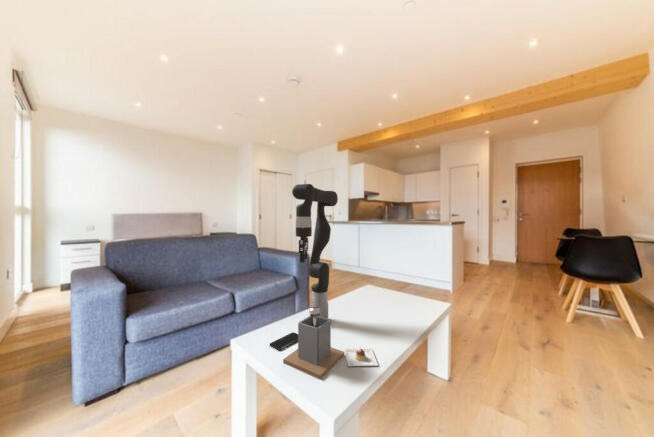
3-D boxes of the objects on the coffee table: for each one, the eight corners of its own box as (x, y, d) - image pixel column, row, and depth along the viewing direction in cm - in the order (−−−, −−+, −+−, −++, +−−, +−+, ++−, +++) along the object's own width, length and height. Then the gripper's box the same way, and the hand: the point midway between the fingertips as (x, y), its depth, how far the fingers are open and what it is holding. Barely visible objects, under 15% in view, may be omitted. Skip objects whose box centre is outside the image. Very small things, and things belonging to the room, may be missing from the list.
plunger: (312, 342, 103) (312, 303, 103) (327, 347, 99) (327, 307, 99) (301, 350, 96) (301, 309, 97) (316, 356, 92) (316, 313, 92)
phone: (304, 336, 115) (279, 349, 103) (304, 339, 115) (279, 352, 103) (293, 331, 120) (268, 343, 108) (293, 334, 120) (268, 346, 108)
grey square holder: (310, 343, 110) (310, 309, 110) (344, 355, 100) (344, 318, 100) (283, 362, 95) (283, 324, 95) (320, 379, 85) (320, 336, 85)
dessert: (371, 351, 105) (371, 340, 105) (378, 368, 93) (378, 356, 93) (344, 351, 104) (344, 340, 104) (348, 368, 92) (348, 356, 92)
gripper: (298, 225, 119) (298, 258, 120) (292, 227, 105) (293, 263, 105) (313, 225, 119) (313, 258, 119) (309, 227, 105) (309, 263, 105)
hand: (303, 260), depth 112 cm, fingers open, 8 cm apart
